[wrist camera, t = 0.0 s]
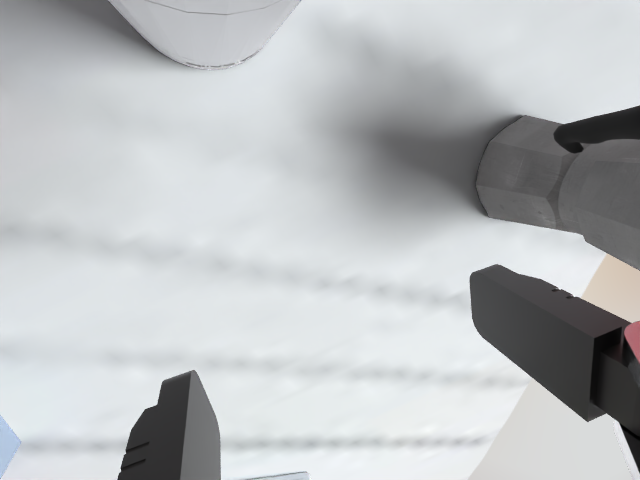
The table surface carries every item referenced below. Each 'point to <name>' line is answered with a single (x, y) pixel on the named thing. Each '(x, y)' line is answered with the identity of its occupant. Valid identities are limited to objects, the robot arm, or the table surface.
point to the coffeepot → (569, 178)
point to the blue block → (7, 445)
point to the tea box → (288, 477)
